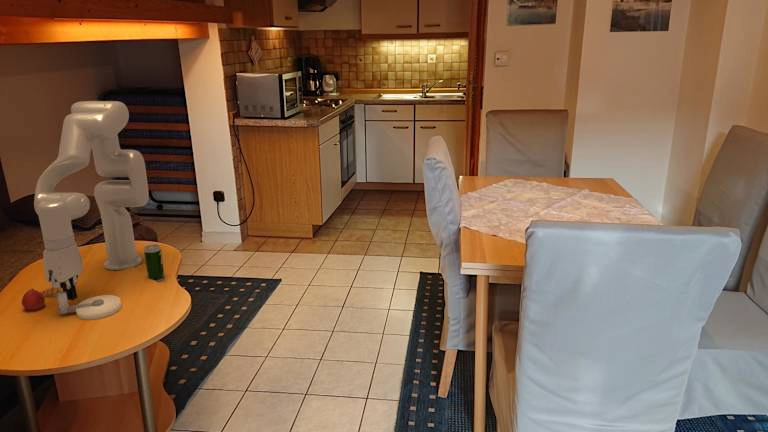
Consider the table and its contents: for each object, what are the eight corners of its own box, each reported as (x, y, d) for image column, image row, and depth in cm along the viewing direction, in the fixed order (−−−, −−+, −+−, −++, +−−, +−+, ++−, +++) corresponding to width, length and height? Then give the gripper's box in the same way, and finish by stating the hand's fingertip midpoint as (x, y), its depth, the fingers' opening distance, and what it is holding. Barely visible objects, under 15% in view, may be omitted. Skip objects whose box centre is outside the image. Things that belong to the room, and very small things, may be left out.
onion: (23, 317, 162) (18, 293, 159) (25, 309, 166) (20, 286, 164) (46, 313, 164) (41, 289, 162) (47, 305, 169) (42, 282, 166)
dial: (123, 298, 171) (119, 278, 169) (119, 315, 160) (115, 294, 158) (63, 306, 166) (59, 285, 163) (55, 325, 155) (51, 302, 153)
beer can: (150, 283, 184) (145, 250, 181) (146, 278, 189) (142, 246, 185) (166, 280, 187) (162, 247, 184) (163, 274, 192) (158, 243, 188)
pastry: (35, 304, 170) (33, 293, 169) (39, 296, 176) (37, 285, 175) (69, 299, 174) (67, 288, 172) (72, 291, 179) (70, 280, 178)
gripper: (68, 232, 165) (78, 286, 171) (27, 250, 151) (40, 309, 157) (89, 234, 164) (99, 289, 169) (50, 252, 150) (62, 311, 156)
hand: (71, 298), depth 163 cm, fingers closed
